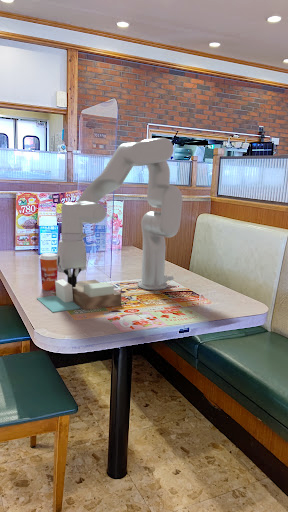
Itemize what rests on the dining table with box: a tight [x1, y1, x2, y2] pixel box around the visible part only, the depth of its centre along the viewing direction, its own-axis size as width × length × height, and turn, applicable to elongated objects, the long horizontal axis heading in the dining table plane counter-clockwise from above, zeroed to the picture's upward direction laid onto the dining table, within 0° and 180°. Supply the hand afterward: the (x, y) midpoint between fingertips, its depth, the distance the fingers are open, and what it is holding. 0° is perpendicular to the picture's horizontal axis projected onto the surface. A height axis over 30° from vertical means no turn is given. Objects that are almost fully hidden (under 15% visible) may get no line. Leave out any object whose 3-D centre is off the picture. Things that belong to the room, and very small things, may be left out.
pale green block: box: [84, 281, 115, 297], centre depth 143 cm, size 6×9×3 cm, turn 122°
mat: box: [36, 295, 82, 313], centre depth 143 cm, size 10×17×1 cm, turn 32°
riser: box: [72, 279, 122, 311], centre depth 150 cm, size 14×22×4 cm, turn 32°
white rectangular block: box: [55, 278, 73, 303], centre depth 147 cm, size 6×9×3 cm
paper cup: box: [38, 252, 59, 292], centre depth 160 cm, size 8×8×14 cm
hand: (72, 286), depth 148 cm, fingers closed
